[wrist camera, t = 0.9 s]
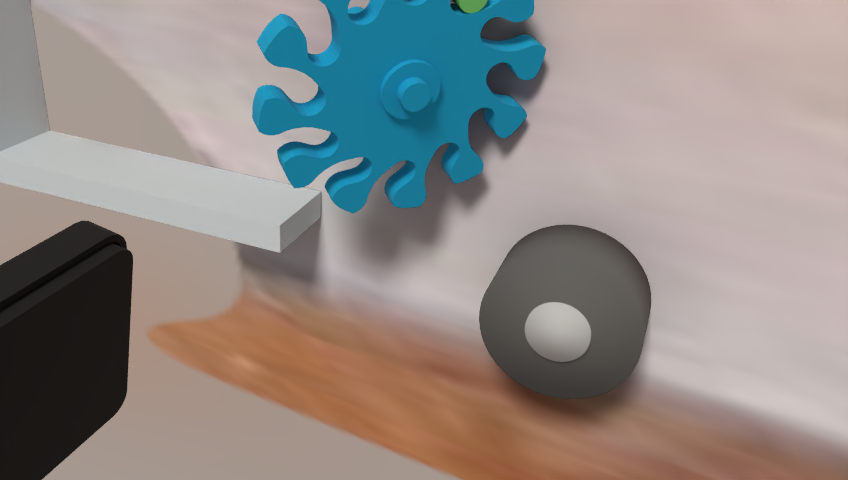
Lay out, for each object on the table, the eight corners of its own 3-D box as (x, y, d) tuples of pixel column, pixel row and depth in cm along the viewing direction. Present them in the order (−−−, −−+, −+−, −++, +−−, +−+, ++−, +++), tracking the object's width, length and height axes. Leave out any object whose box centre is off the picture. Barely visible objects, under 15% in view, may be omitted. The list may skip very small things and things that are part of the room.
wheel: (666, 244, 30) (657, 282, 27) (634, 375, 33) (624, 420, 30) (508, 210, 31) (486, 243, 29) (491, 337, 34) (470, 378, 32)
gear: (460, 244, 31) (211, 193, 25) (401, 160, 35) (176, 99, 29) (626, -22, 26) (370, -161, 20) (536, -83, 30) (301, -214, 24)
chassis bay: (325, -225, 27) (273, -233, 24) (320, 217, 35) (280, 253, 32) (-38, -251, 31) (-121, -260, 28) (29, 148, 39) (-30, 174, 36)
